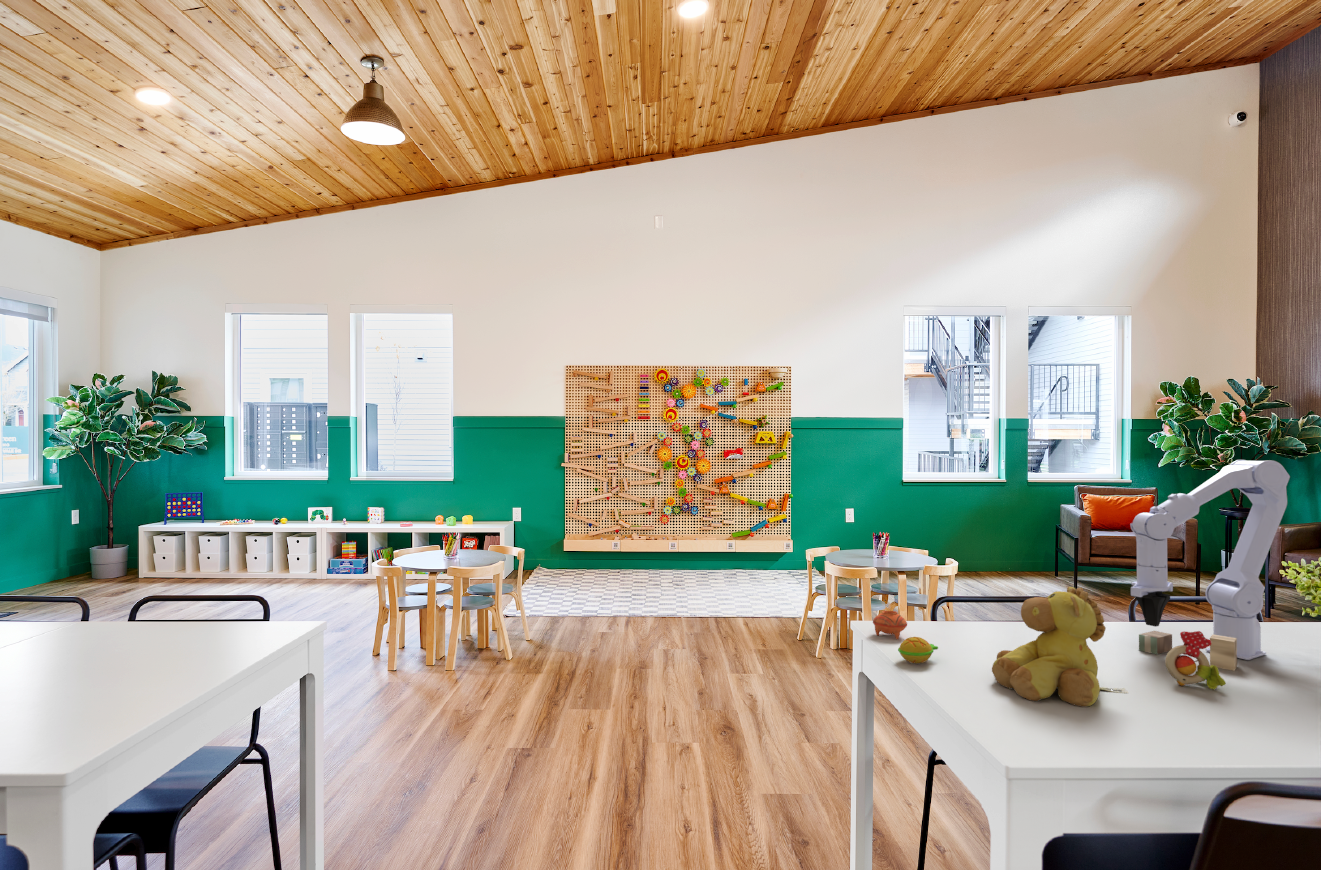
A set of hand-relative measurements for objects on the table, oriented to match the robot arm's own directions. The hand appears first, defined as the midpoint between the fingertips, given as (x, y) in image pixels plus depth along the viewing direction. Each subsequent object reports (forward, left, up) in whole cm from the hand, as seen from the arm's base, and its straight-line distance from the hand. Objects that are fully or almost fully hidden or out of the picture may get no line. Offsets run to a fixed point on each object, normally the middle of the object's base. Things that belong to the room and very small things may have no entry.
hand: (1152, 625), depth 156 cm
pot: (+44, -37, -6) cm, 58 cm away
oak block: (-1, +13, -6) cm, 14 cm away
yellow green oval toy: (+54, -20, -6) cm, 58 cm away
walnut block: (+2, 0, -4) cm, 5 cm away
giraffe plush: (+44, +4, -6) cm, 45 cm away
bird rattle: (+19, +16, -6) cm, 26 cm away
